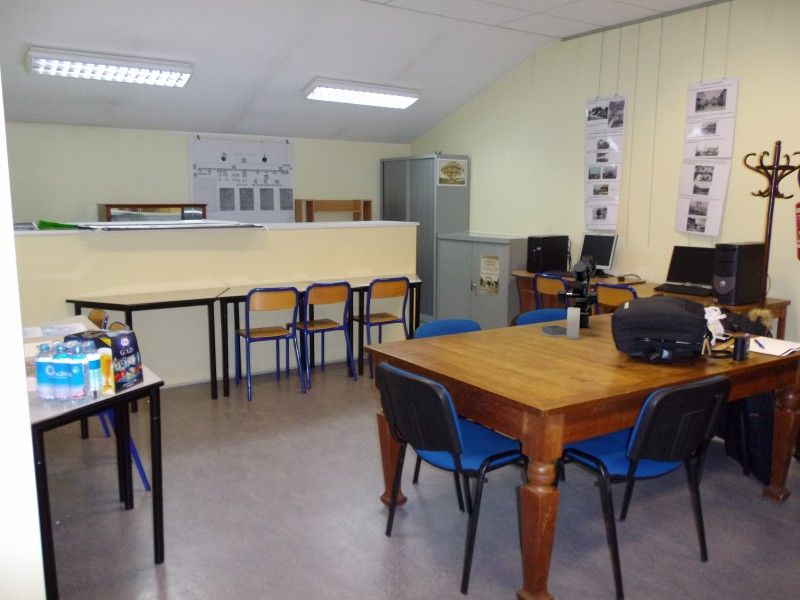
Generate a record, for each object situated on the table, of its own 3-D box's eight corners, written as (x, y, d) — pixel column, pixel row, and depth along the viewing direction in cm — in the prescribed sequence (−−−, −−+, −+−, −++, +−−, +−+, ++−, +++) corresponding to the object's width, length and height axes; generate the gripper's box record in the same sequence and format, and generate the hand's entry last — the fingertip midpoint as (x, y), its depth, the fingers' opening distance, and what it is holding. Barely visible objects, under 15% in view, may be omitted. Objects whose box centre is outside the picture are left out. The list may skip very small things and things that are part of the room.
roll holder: (557, 332, 323) (557, 325, 322) (567, 335, 314) (567, 328, 314) (541, 333, 320) (541, 325, 320) (550, 336, 312) (551, 329, 311)
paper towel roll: (574, 336, 313) (575, 307, 311) (581, 338, 308) (582, 308, 306) (564, 337, 311) (565, 307, 309) (570, 339, 306) (572, 309, 304)
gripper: (558, 273, 319) (553, 298, 311) (599, 275, 312) (595, 301, 304) (560, 288, 328) (556, 313, 319) (600, 290, 320) (596, 316, 312)
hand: (575, 310), depth 313 cm, fingers open, 9 cm apart
